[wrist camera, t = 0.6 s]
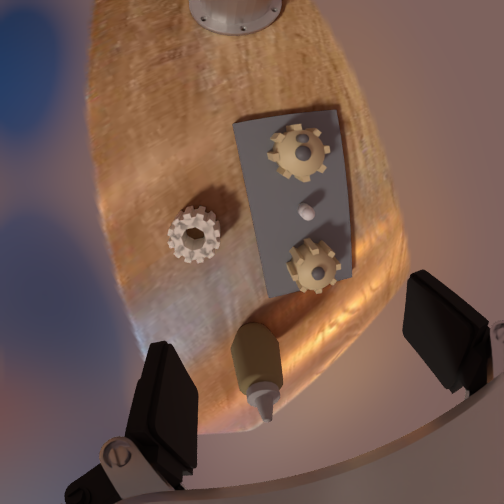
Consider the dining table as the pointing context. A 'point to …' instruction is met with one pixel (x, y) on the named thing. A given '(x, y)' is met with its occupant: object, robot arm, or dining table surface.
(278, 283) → the gear board
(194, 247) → the cream idler gear
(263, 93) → the dining table surface
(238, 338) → the squeeze bottle
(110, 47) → the dining table surface
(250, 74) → the dining table surface
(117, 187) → the dining table surface
